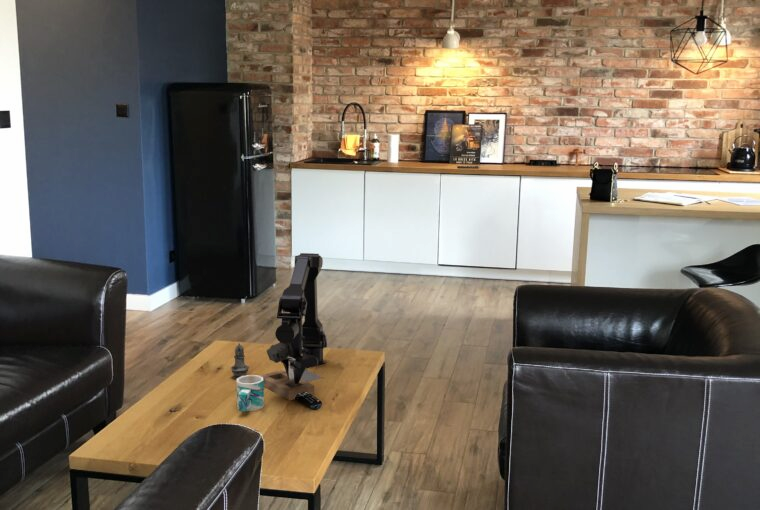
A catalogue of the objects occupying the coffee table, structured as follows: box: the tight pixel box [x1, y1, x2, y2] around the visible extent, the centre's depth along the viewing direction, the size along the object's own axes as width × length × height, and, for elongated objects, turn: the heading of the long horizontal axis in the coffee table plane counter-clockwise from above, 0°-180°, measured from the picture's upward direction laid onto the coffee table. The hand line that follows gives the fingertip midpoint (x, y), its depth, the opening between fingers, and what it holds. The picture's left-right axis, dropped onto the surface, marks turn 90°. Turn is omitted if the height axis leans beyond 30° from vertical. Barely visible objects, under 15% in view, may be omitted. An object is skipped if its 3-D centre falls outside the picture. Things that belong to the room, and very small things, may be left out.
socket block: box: [258, 369, 315, 401], centre depth 255 cm, size 18×9×3 cm, turn 40°
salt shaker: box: [230, 342, 250, 381], centre depth 264 cm, size 6×6×12 cm
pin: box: [288, 359, 298, 388], centre depth 251 cm, size 3×3×10 cm
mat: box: [301, 368, 323, 383], centre depth 267 cm, size 10×10×1 cm
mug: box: [236, 374, 265, 412], centre depth 240 cm, size 8×12×8 cm
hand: (293, 381), depth 252 cm, fingers closed on pin, 3 cm apart
